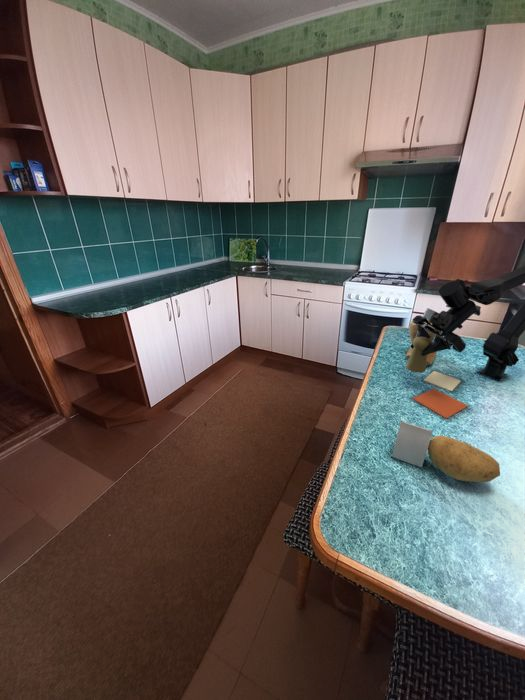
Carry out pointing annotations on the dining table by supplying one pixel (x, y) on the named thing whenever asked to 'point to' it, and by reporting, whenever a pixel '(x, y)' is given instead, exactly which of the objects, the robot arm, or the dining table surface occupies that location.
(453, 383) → the cream mat
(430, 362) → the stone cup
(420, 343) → the cork
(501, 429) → the dining table surface
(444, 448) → the potato
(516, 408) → the dining table surface
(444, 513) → the dining table surface
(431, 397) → the terracotta mat
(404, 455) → the grey rectangular block
